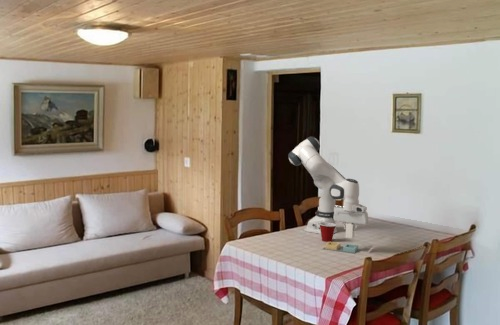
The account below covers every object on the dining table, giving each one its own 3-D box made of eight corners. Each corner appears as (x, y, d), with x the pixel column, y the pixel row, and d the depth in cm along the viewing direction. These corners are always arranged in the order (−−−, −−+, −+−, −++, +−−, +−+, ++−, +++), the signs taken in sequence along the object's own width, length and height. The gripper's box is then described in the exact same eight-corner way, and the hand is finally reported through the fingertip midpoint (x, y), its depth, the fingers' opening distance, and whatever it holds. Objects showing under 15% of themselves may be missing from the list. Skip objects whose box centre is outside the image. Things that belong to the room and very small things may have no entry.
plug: (345, 237, 302) (346, 222, 301) (347, 235, 306) (348, 220, 305) (352, 238, 301) (352, 222, 300) (354, 236, 304) (354, 221, 303)
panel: (322, 250, 307) (322, 245, 306) (329, 245, 317) (329, 240, 317) (355, 255, 297) (355, 249, 297) (361, 250, 308) (361, 244, 307)
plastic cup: (338, 243, 322) (339, 225, 320) (322, 244, 320) (322, 225, 318) (332, 239, 332) (332, 221, 331) (316, 240, 330) (316, 221, 329)
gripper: (332, 205, 304) (331, 229, 305) (366, 209, 294) (365, 233, 295) (335, 204, 309) (335, 226, 311) (369, 207, 299) (368, 231, 301)
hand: (350, 230), depth 303 cm, fingers closed on plug, 4 cm apart
